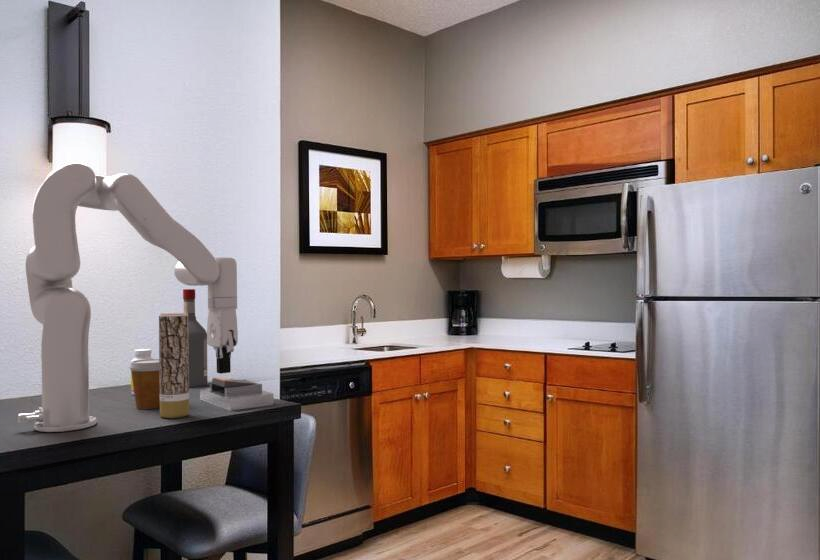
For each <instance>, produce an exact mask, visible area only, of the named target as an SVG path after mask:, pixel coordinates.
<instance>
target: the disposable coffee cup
mask: <svg viewBox="0 0 820 560" xmlns="http://www.w3.org/2000/svg"><path fill="white" fill-rule="evenodd" d="M131 361H132V360H131ZM131 361H130V365H129V370H130V374H131V373H132V381H133V387H134V394H135V395H134V401H135V407H136V409H138V410H151V408H153V409H157V408H158V407H159V408H160V384H159V358H153V359H144V360H135V361H132V362H131Z"/></svg>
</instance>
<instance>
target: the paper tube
mask: <svg viewBox="0 0 820 560" xmlns="http://www.w3.org/2000/svg"><path fill="white" fill-rule="evenodd" d="M158 359H159V384H160V407H159V416H160V417H162V418H164V419H178V418H184V417H187V416H188V415H189V414H190V388H189V319H188V314H187V313H184V312H162V313H159V314H158Z"/></svg>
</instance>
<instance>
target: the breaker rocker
mask: <svg viewBox="0 0 820 560" xmlns="http://www.w3.org/2000/svg"><path fill="white" fill-rule="evenodd" d="M211 381H212V382H211V383H212V384H215V385H219V386H222V387H235V386H244V385H253V384H259V383H258V382H254V381H250V380H246V379H245V380H243V379H235V378H233V379H231V378H225V377H223V378H222V377H212V380H211Z"/></svg>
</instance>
